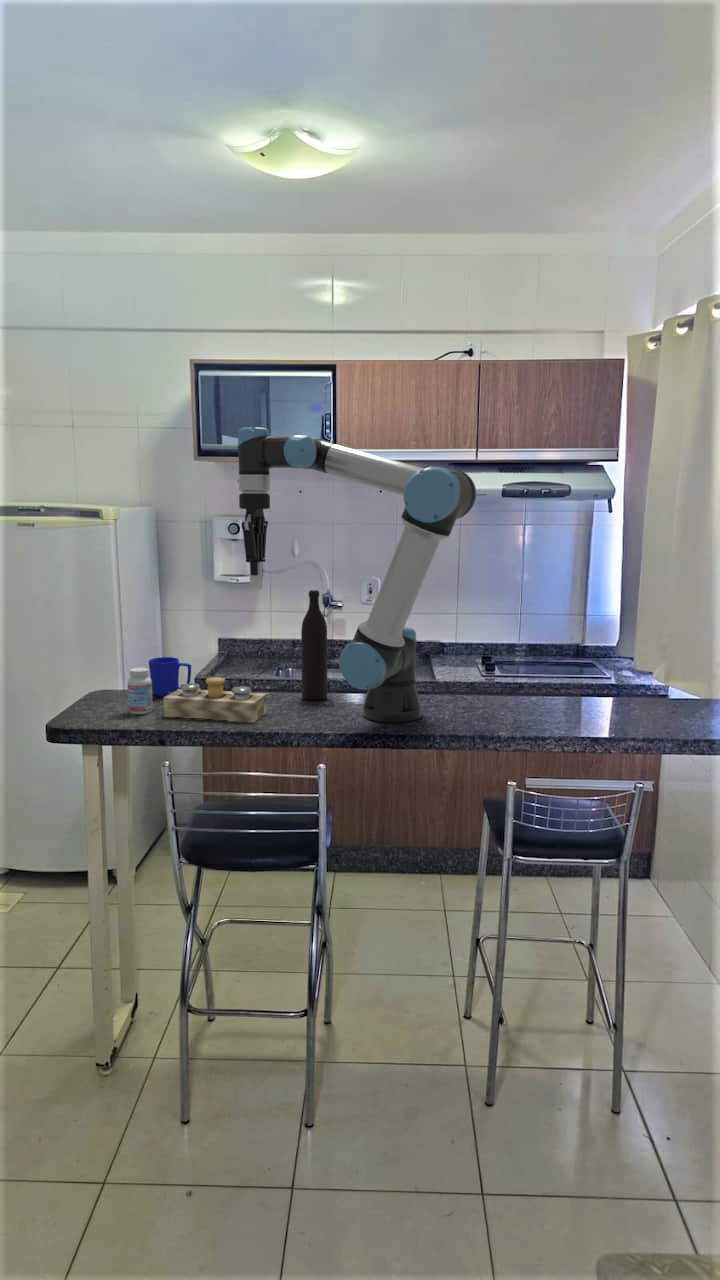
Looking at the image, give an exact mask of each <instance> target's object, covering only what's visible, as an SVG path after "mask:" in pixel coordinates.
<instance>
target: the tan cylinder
mask: <svg viewBox="0 0 720 1280" xmlns="http://www.w3.org/2000/svg"><path fill="white" fill-rule="evenodd" d="M225 683H226V678H224V677H219V676H218V677H217V676H214V677H208V678H206V679H205V684H207V690H208V698H223V691H224V684H225Z"/></svg>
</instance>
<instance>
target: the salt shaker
mask: <svg viewBox="0 0 720 1280" xmlns="http://www.w3.org/2000/svg"><path fill="white" fill-rule="evenodd" d="M179 687H180V689H181V690H182V691H183V696H189V697H196V696H198V689H199V690H200V684H199V683H191V682H190V683H188V684H187V683H183V684H180V685H179Z"/></svg>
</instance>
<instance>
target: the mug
mask: <svg viewBox="0 0 720 1280" xmlns="http://www.w3.org/2000/svg"><path fill="white" fill-rule="evenodd" d="M148 666H149V667H148V670H149V675H150V676H149V678H150V679H151V681H152V695H154V696H156V697H161V698H164V697H165V696H167V695H169V694H171V693H168V692H175V691H177V690H178V689H180V685H179V678H180V677H179V672H180V667H186V668H187V679H186V684H188V683H191V677H192V664H190V663H185V662H180V659H179V658H177V657H173V656H172V657H171V656H170V657H168V656H163V657H161V656H160V657H155V658H151V659H149V660H148Z"/></svg>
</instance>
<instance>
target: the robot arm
mask: <svg viewBox="0 0 720 1280" xmlns="http://www.w3.org/2000/svg"><path fill="white" fill-rule="evenodd" d="M237 434H238V437H237V445H236V446H237V454H238V455H237V456H238V479H237V480H236V481H237V483H238V490H239V491H240V492H241V493H239V495H238V502H239V503H238V505H239V509H241V510H245V515H244V516H245V517H244V521H241V529H242V535H243V544H244V552H245V553H244V554H245V563H249V589H257V590H258V589H263V563H265V562H266V545H267V530H268V526H269V522H268V520H266V517H265V513H264V510H268V509H270V508H271V497H270V493H268V492H270V491H271V484H270V483H271V482H270V480H271V479H270V478H271V477H270V469H274V468H275V469H277V468H279V469H280V468H281V469H287V468H289V469H305V470H306V469H307V470H314V471H317V472H321V473H324V474H327V475H332V476H335V477H339V478H342V479H346V480H349V481H352V482H355V483H358V484H362V485H366V486H369V487H372V488H375V489H379V490H383V491H386V492H388V493H389V492H390V493H393V494H396V495H399V496H403V502H404V505H405V506H404V508H403V512H402V514H401V517H400V519H401V521H402V523H403V530H402V532H401V535H400V537H399V540H398V542H397V545H396V547H395V550H394V553H393V554H392V558H391V561H390V562H389V564H388V565H389V566H388V567H387V571H386V573H385V576H384V578H383V581H382V583H381V586H380V588H379V591H378V593H377V596H376V599H375V601H374V603H373V606H372V608H371V611H370V614H369V616H368V618H367V620H366V621H363V622H360V623H359V624H358V627H357V628H356V631H355V634H354V637H353V639H352V641H351V642H350V643H347V645H346V646H345V647H344V648H343V649H342V650H341V652H340V656H339V659H338V664H339V665H338V666H339V670H340V672H341V675H342V677H343V679H344V680H345V681H346V682H347V683H348V684H349V685H350V686H352V687H354V688H356V689H358V690H364V691H367V692H366V696H365V698H364V702H363V704H362V716H363V717H364V718H365V719H367V720H371V721H373V722H374V721H375V722H381V723H407V722H412V721H415V720H418V719H420V718H421V717H422V713H423V712H422V711H423V709H422V706H423V705H422V703H421V700H420V697H419V694H418V690H417V686H416V676H417V675H416V674H417V673H416V672H417V671H416V670H417V667H416V666H417V643H418V642H417V641H418V640H417V633H416V630H415V629H414V628H412V627H408V626H407V627H406V624H407V621H408V620H409V618H410V614H411V611H412V610H413V607H414V605H415V603H416V600H417V597H418V595H419V593H420V590H421V588H422V585H423V582H424V581H425V578H426V577H427V574H428V572H429V568H430V566H431V564H432V562H433V559H434V556H435V554H436V551H437V549H438V547H439V544H440V542H441V541H442V540H444V539H447V538H449V537H450V535H451V534H452V530H453V529H454V526H455V523H456V521H457V520H458V519H461V518H463V517H465V516H466V515H467V514H469V512H471V510H472V509H473V507H474V505H475V504H476V503H475V502H476V498H477V489H476V485H475V483H474V481H473V479H472V477H471V476H469V475H468V473H466V472H464V470H460V469H457V468H447V467H443V466H437V465H436V466H434V465H433V466H432V465H430V466H428V467H426V468H424V467H422V466H421V467H420V466H417V465H413V464H409V463H407V462H406V463H405V462H402V461H400V460H395V459H392V458H387V457H383V456H380V455H378V454H377V455H376V454H373V453H370V452H367V451H362V450H359V449H355V448H352V447H348V446H345V445H344V446H343V445H340V444H336V443H333V442H330V441H328V440H325V439H323V438H322V439H321V438H313V437H311V436H309V435H306V434H305V435H304V434H292V435H291V434H290V435H289V434H288V435H270V431H269V430H268V428H265V427H249V426H248V427H242V428H240V429H239V430H238V433H237Z"/></svg>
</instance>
